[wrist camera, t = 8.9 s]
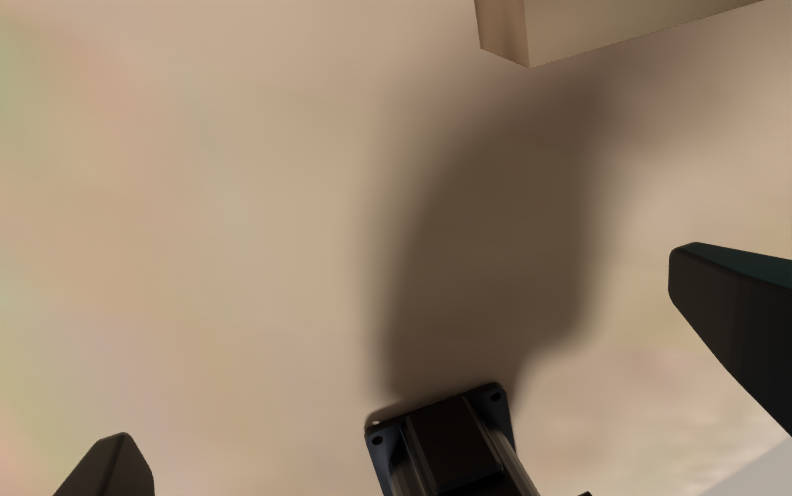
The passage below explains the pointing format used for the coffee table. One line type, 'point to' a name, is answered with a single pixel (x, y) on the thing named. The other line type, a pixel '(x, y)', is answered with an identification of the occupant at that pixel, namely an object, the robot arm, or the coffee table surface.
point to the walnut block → (579, 24)
